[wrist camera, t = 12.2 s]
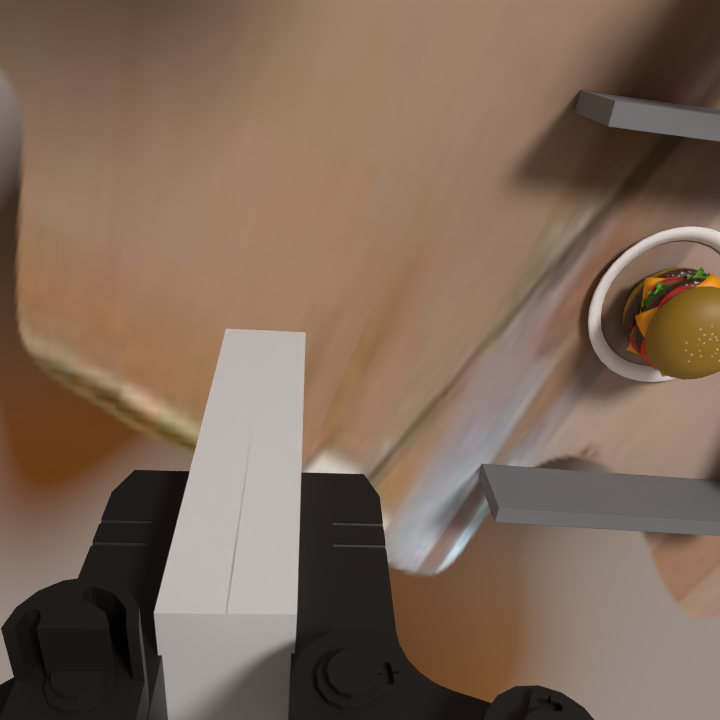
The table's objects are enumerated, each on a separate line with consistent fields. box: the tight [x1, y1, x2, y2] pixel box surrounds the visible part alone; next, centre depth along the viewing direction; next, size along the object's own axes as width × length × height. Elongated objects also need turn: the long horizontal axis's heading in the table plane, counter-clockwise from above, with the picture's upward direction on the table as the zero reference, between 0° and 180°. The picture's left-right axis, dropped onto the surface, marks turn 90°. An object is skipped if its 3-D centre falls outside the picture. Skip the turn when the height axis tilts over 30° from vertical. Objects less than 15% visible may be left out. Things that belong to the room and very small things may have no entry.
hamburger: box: [588, 226, 720, 382], centre depth 34 cm, size 12×12×6 cm
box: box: [479, 90, 720, 536], centre depth 35 cm, size 22×17×4 cm
